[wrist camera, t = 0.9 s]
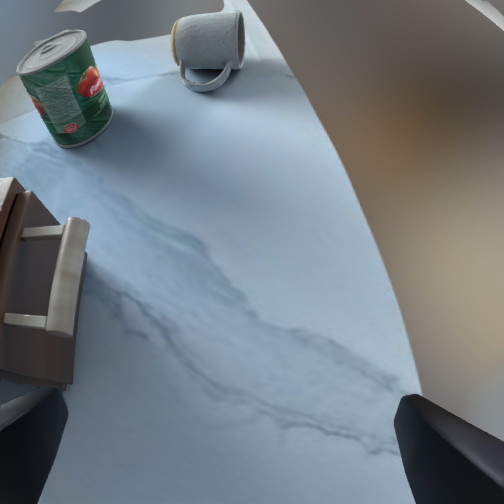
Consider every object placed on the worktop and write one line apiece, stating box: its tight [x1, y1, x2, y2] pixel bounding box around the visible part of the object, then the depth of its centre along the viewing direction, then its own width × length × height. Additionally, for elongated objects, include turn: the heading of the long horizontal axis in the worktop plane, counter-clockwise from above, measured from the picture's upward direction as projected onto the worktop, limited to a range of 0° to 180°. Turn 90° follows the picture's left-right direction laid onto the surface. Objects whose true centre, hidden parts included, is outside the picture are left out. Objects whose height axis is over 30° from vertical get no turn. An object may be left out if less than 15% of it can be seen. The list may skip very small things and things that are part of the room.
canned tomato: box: [16, 30, 113, 148], centre depth 27 cm, size 8×8×11 cm
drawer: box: [0, 191, 90, 384], centre depth 17 cm, size 17×10×9 cm, turn 92°
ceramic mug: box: [171, 11, 245, 92], centre depth 32 cm, size 11×8×8 cm
